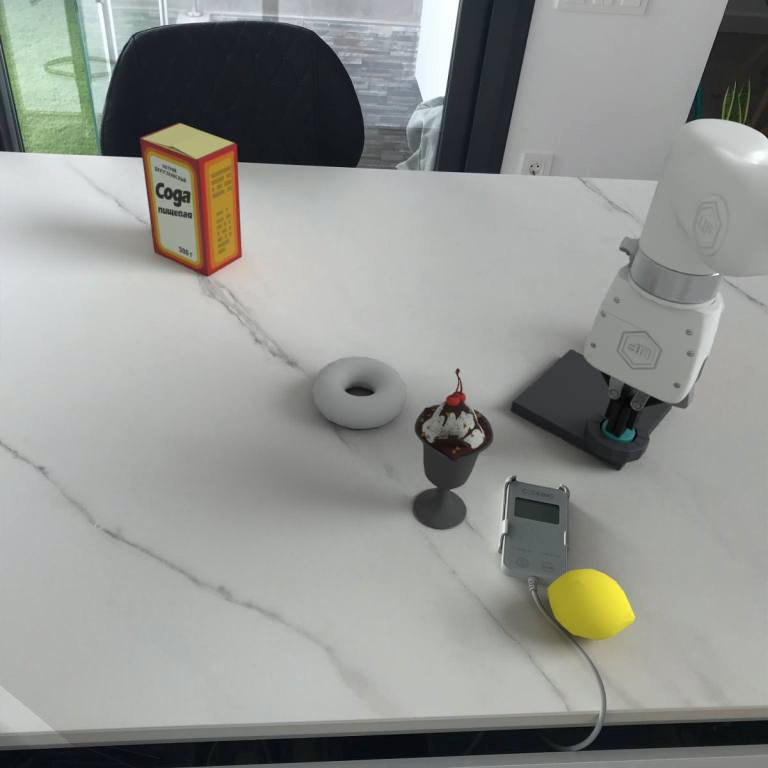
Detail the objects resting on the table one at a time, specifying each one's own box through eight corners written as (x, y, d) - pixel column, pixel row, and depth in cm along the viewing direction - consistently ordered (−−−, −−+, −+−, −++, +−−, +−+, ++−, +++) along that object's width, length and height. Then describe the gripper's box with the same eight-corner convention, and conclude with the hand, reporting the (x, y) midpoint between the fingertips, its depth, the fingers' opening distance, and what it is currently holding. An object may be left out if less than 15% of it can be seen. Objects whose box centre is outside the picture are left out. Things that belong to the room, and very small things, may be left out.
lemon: (533, 634, 62) (547, 594, 59) (547, 583, 66) (561, 543, 63) (619, 667, 61) (639, 628, 57) (629, 613, 65) (648, 573, 61)
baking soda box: (154, 252, 103) (139, 134, 93) (189, 233, 107) (178, 119, 97) (208, 276, 99) (198, 157, 89) (241, 256, 104) (236, 140, 93)
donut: (381, 449, 78) (420, 391, 85) (383, 424, 75) (423, 367, 82) (294, 416, 80) (338, 363, 87) (294, 391, 78) (339, 338, 85)
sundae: (440, 471, 76) (462, 349, 66) (489, 514, 72) (520, 391, 62) (389, 501, 72) (404, 377, 63) (437, 548, 68) (461, 423, 59)
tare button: (636, 439, 79) (640, 428, 78) (622, 455, 77) (626, 444, 76) (607, 424, 80) (611, 413, 79) (593, 439, 78) (597, 428, 77)
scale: (680, 413, 85) (689, 392, 83) (624, 481, 76) (633, 460, 75) (567, 358, 92) (573, 337, 90) (504, 415, 83) (510, 394, 81)
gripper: (578, 253, 67) (535, 410, 79) (747, 325, 60) (673, 485, 72) (616, 225, 72) (570, 377, 84) (777, 288, 65) (703, 444, 77)
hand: (618, 427), depth 78 cm, fingers closed
